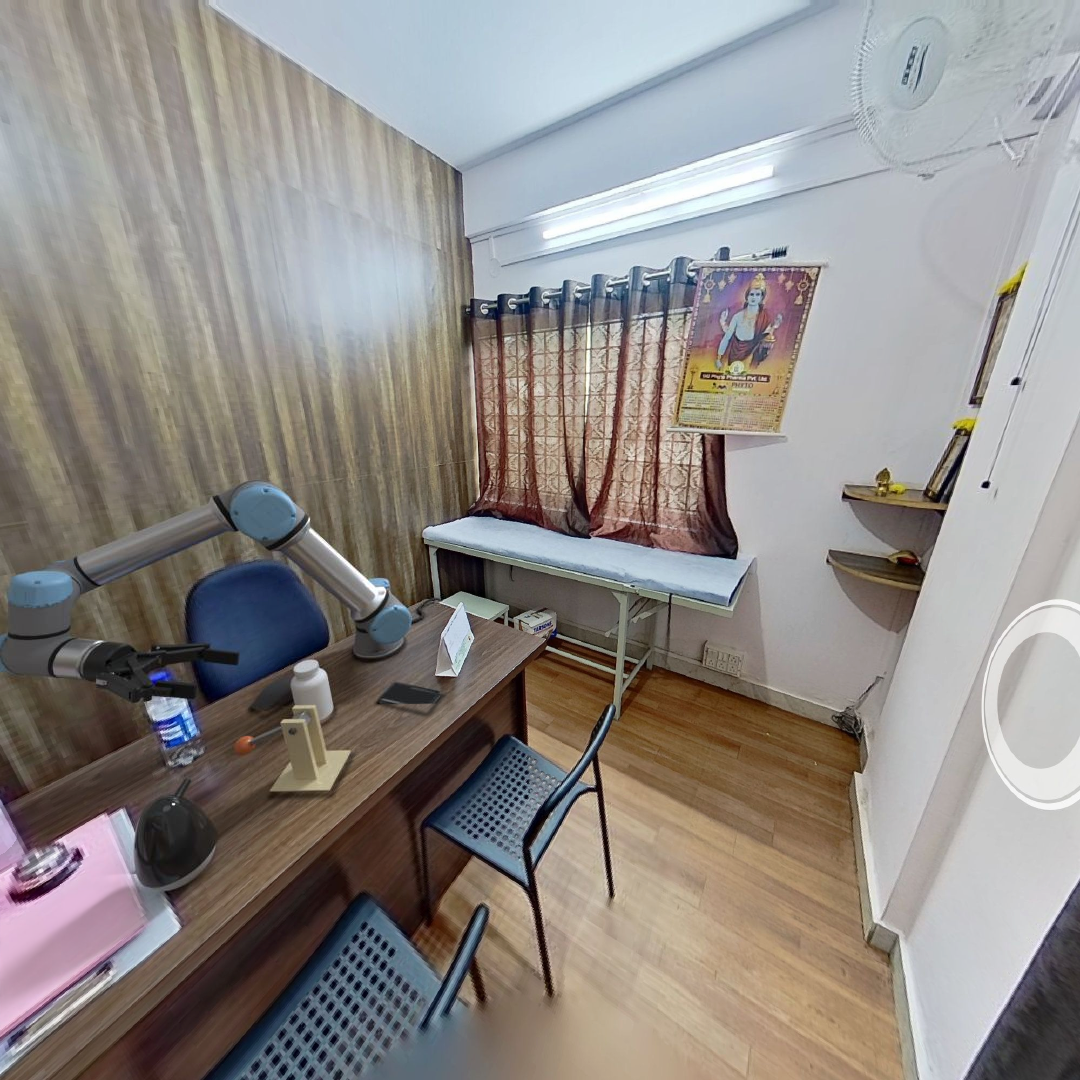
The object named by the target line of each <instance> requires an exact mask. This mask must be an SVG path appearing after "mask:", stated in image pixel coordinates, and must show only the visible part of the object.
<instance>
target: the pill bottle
mask: <svg viewBox="0 0 1080 1080" xmlns="http://www.w3.org/2000/svg"><path fill="white" fill-rule="evenodd" d="M319 664H320V663H319V662H318V661H317V660H316V659H305V660H303V661H301V662H298V663H297V664H296V665H295V666H293V675H295V676H294V677H293V679H292V681H291V690H292V694H293V702H294V706H295V705H316V708H317V712H318V716H319V721H320V722H321V721H323V720H325V719H327V718H328V717H329V716H330V715H331V714H332V713H333V711H334V702H333V699H332V698H333V697H332V693H331V687H330V683H329V678H328V677H329V676H328V673H327V671H325V670H324V669H323V668H320V665H319Z"/></svg>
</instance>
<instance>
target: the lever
mask: <svg viewBox="0 0 1080 1080" xmlns="http://www.w3.org/2000/svg"><path fill="white" fill-rule="evenodd" d="M291 719H305V720H306V724H307V726H308V724H309V723H310V721H311V720H312V718H311V717H310V716H309V714H308V713H307V712H306V711H303V712H301V713H298V714H296V715H294V714H293V716H292V717H291ZM280 734H283V731H282V728H281V725H280V726H277V727H275V728H273V729H271V730H269V731H266V732H264V733H262V734H259V735H258V736H255V737H254V736H252V735H243V736H241V737H240V738H238V739H237V740H236V742H234V746H233V750H234V752H235V754H236V755H238V756H246V755H249V754H250V753H252V752H253V751H254V749H255V748H256V745H257V744H260V743H263V742H264V741H266V740H269V739H271V738H273V737H275V736H279V735H280Z"/></svg>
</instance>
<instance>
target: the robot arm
mask: <svg viewBox="0 0 1080 1080" xmlns="http://www.w3.org/2000/svg"><path fill="white" fill-rule="evenodd" d="M226 532H232V533H237V532H240V533H241V534H243V535H244V536H246V537H248V538H249V539H252V540H254V541H256V542H257V543H258V544H260V545H261V546H262V547H264V548H265V549H266V550H267V551H269V552H279V553H282V554H283V555H284V556H285V557H286V558H288V560H290V561H291V562H292V563H294V564H295V565H296V566H297V567H298V568H299V569H300V570H302V571H303V572H305V574H307V575H308V576H309V577H311V578H312V579H313V580H314V581H315V582H316V583H318V584H319V585H320V586H321V587H322V588H324V589H325V590H326V591H327V592H328V593H329V594H331V595H332V596H333V597H334V598H335V599H337V600H338V601H339V602H340V603H342V604H343V605H344V606H345V607H346V608H348V609H349V610H350V611H349V617H350V618H351V619H352V620H353V621H354V626H355V636H354V642H353V646H352V651H353V655H354V656H355V658H356V659H358V660H359V661H360V660H361V661H366V662H367V661H368V662H372V661H373V662H374V661H380V660H384V659H386V658H387V659H388V658H389V657H392V656H393V655H396V654H397V653H398V652H400V651H401V650H402V648H403V647H404V645H405V640H404V637H405V636H406V635H408V632H409V631H410V629H411V626H412V624H414V623H417V622H419V621H420V620H422V619H424V617H425V612H424V611H423V610H421V608H422V607H424V606H425V605H426V604H428V603H430V602H431V603H432V602H435V601H438V602H442V598H439V597H431V598H429V599H427V600H425V601H423V602H422V603H423V604H422V603H420V604H421V605H420V604H419V605H418V606H417V611H418V612H419V614H420V616H419V617H417V618H414V619H413V617H412V614H411V612H410V610H409V608H407V606H405V605H404V604H403V603H402V602H401V601H400V600H399V599H398V598H397V597H396V596H395V595H394V594H393V593H392V591H391V584H390V581H389V580H388V579H387V578H384V577H374V578H368V579H367V577H365V576H364V575H363V574H362V573H361V572H360V571H359V570H358V569H356V568H355V567H354V566H353V564H351V563H350V562H349V561H348V560H347V559H346V558H345V557H344V556H342V554H340V552H338V551H337V549H335V548H334V547H333V546H331V544H329V543H328V542H327V541H326V540H325V539H324V538H323V537H322V536H321V535H320V534H319V533H318V532H317V531H316V530H315V529H313V528H312V526H311V517H310V516H309V515H308V514H307V513H305V511H304V510H303V509H302V508H301V507H299V505H298V504H296V503H295V502H294V501H293V500H292V499H291V497H290V496H289V495H288V494H287V493H285V492H284V491H283V490H282V489H281V488H280V487H279V486H278V485H276V484H275V483H274V482H271V481H268V480H264V479H250V480H246V481H243V482H241V483H239V484H237V485H235V486H233V487H231V488H229V489H227V490H225V491H223V492H221V493H219V494H218V493H217V494H216V495H213V496H211V497H210V499H209V501H208V502H207V503H206V504H203V505H200V506H198V507H195V508H192V509H190V510H188V511H186V512H183V513H180V514H177V515H176V516H174V517H171V518H169V519H166V520H163V521H161V522H158V523H156V524H153V525H151V526H149V527H146V528H144V529H140V530H138V531H136V532H133V533H131V534H128V535H125V536H123V537H120V538H118V539H116V540H113V541H111V542H109V543H106V544H104V545H101V546H98V547H95V548H94V549H91V550H88V551H86V552H84V553H81V554H79V555H77V556H75V557H72V558H68V559H66V560H58V561H55V562H52V563H50V564H47V565H46V566H44V567H42V568H41V569H40V570H35V571H27V572H24V573H18V574H17V575H14V576H13V577H12V578H10V580H9V587H8V591H7V593H6V598H7V601H8V602H7V605H8V606H7V611H8V612H7V617H8V618H7V619H8V621H7V623H8V625H7V629H8V630H7V632H6V633H3V634H1V635H0V672H1V673H7V674H12V675H16V676H35V677H36V676H37V677H46V678H55V679H65V680H75V681H83V682H84V681H85V682H86V681H87V682H91V683H95V688H96V689H100V690H101V689H102V690H106V691H109V692H110V693H113V694H114V695H116V696H118V697H120V698H121V699H124V700H125V701H128V702H129V703H131V704H137V703H139V702H140V701H141V699H142V702H144V703H148V702H151V701H152V700H153V697H159V698H173V699H181V700H183V699H184V700H195V699H196V698H197V694H198V683H191V682H181V681H173V680H171V681H170V680H163V679H162V680H161V679H158V680H156V681H155V682H153V681H152V680H151V679H150V677H148V674H150V673H151V672H153V671H155V670H158V669H163V668H166V667H167V666H169V665H175V664H181V663H182V664H183V663H190V662H196V661H201V660H202V661H203V663H210V664H218V665H219V664H220V665H229V666H238V665H239V663H240V652H239V651H231V650H223V649H215V648H214V649H213V648H211V642H196V643H195V642H194V643H177V644H175V643H174V644H159V643H154V644H151V645H150V649H149V650H143V651H142V650H141V651H138V650H137V649H136V648H134V646H133V645H131V644H129V643H125V642H117V641H107V640H101V639H92V638H91V639H90V638H82V637H74V636H71V619H72V617H71V616H72V607H73V606H74V605H75V603H76V602H77V600H78V599H79V598H80V597H81V596H82V595H84V594H86V593H89V592H91V591H94V590H95V589H99V587H102V586H104V585H106V584H109V583H110V582H113V581H115V580H118V579H120V578H122V577H125V576H128V575H130V574H132V573H134V572H136V571H139V570H141V569H143V568H146V567H148V566H151V565H153V564H155V563H158V562H159V561H161V560H164V559H166V558H169V557H171V556H173V555H176V554H178V553H180V552H183V551H184V550H187V549H189V548H191V547H195V546H196V545H199V544H200V543H201V544H202V543H203V542H205V541H208V540H211V539H213V538H214V537H217V536H219V535H221V534H224V533H226ZM159 660H160V661H159Z"/></svg>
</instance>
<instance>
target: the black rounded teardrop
mask: <svg viewBox="0 0 1080 1080" xmlns="http://www.w3.org/2000/svg"><path fill="white" fill-rule="evenodd" d="M191 782H192V780H191V778H184V779H183V781H182V782H181V784H180V785H179V787H178V788H177V789H176V791H175V792H174V794H165V795H162V796H159V797H157V798H156V799H154V800H152V801H151V802H150V803H149V804H148V805H147V806H145V808H144V809H143V810H142V812H141V814H140V816H139V819H138V821H137V824H136V827H135V832H134V837H133V839H134V840H133V863H134V869H135V874H136V878H137V880H138V882H139V884H140V885H141V886H143V887H145V888H149V889H150V890H153V891H157V892H168V891H173V890H176V889H179V888H181V887H183V886H184V885H187V884H188V883H190V882H192V880H195V878H197V877H198V876H199V875H200V874H201V873H202V872H203V871H204V870H205V868H206V867H207V866H208V865H209V863H210V861H211V860H212V858H213V856H214V854H215V851H216V847H217V842H218V837H219V833H218V830H217V828H216V826H215V823H214V822H213V820H212V819H211V817H210V816H209V815H208V813H207V812H206V811H205V810H204V809H203V808H202V807H201V806H200V805H198V804H197V803H196V802H195V801H193V800H191V799H190V798H187V797H186V796H185V794H186V792H187V790H188V788H189V786H190V784H191Z"/></svg>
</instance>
